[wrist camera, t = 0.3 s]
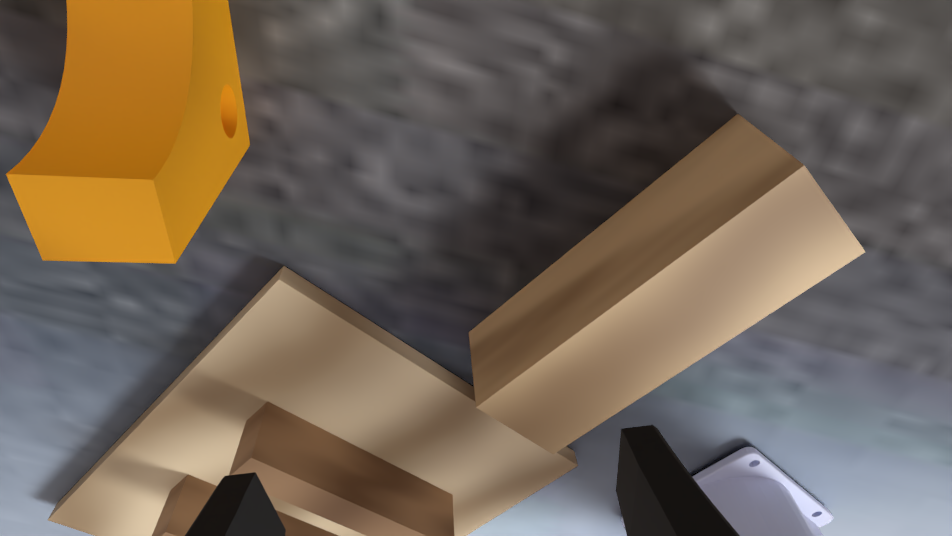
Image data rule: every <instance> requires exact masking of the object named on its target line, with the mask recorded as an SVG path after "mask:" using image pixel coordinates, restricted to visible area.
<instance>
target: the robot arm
mask: <svg viewBox="0 0 952 536" xmlns="http://www.w3.org/2000/svg"><path fill="white" fill-rule="evenodd" d="M616 492H617V496H618V500H619V504H620V509H621V513H622V518H621V522H622V525H623V527H624V528H625V529H626V533H627V536H823V534H822V533H821V531H820V529H819V527H822V526H824V525H826V524H828V523H830V522H831V521H832V520H833V515H832V514H831V512H830V511H829V510H828V509H827V508H826V507H825V506H823V505H822V504H821V503H820V502H819V501H817V500H816V499H815V498H814V497H813V496H811V495H810V494H809V493H808V492H807V491H805V490H804V489H803V488H802V487H801V486H799V485H798V484H797V483H796V482H795V481H793V480H792V479H791V478H790V477H789V476H787V475H786V474H785V473H784V472H783V471H782V470H780V469H779V468H778V467H777V466H776V465H774V464H773V463H772V462H771V461H770V460H768V459H767V458H766V457H765V456H764V455H762V454H761V453H760V452H759V451H758V450H756V449H755V448H753V447H744V448H742V449H740V450H738V451H737V452H735V453H733V454H731V455H729V456H728V457H726V458H724V459H722V460H720V461H719V462H717V463H715V464H713V465H712V466H710V467H708V468H706V469H704V470H703V471H701V472H699V473H697V474H696V475H694V476H691V475H690V474H689V472H688V471H687V470H686V468H685V467H684V466H683V464H682V463H681V462H680V460H679V459H678V458H677V456H676V455H675V453H674V452H673V451H672V449H671V448H670V446H669V445H668V444H667V442H666V441H665V439H664V438H663V436H662V435H661V433H660V432H659V430H658V429H657V428H656V427H654V426H653V425H649V426H641V427H632V428H624V429H621V439H620V451H619V463H618V474H617V486H616ZM285 532H286V529H285V527H284V525H283V523H282V522H281V520H280V518H279V516H278V514H277V512H276V510H275V508H274V506H273V504H272V502H271V501H270V499H269V497H268V495H267V493H266V491H265V489H264V487H263V485H262V483H261V481H260V479H259V478H258V476H257V474H256V472H253V473H245V474H236V475H228V476H224V477H223V478H222V480H221V481H220V482H219V484H218V486H217V487H216V489H215V490H214V492H213V493H212V495H211V496H210V498H209V499H208V501H207V502H206V504H205V505H204V507H203V509H202V510H201V512H200V513H199V515H198V516H197V518H196V519H195V521H194V522H193V524H192V525H191V527H190V528H189V530H188V531H187V533H186V534H185V536H285Z"/></svg>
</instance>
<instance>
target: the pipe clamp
mask: <svg viewBox="0 0 952 536" xmlns="http://www.w3.org/2000/svg"><path fill="white" fill-rule="evenodd" d="M66 2H67V48H66V58H65V66H64V72H63V77H62V82H61V87H60V90H59V94H58V97H57V101H56V104H55V107H54V109H53V112H52V114H51V116H50V119H49V121H48V123H47V125H46V127H45V129H44V131H43V132H42V134H41V136H40V138H39V139H38V140H37V142H36V143H35V145H34V146H33V148H32V149H31V150H30V152H29V153H28V154H27V155H26V156H25V157H24V158H23V159H22V160H21V161H20V163H18V164H17V165H16V166H15V167H14V168H12V169H11V170H10V171H9V172H8V173H7V174H6V175H7V178H8V180H9V182H10V185H11V187H12V189H13V192H14V194H15V196H16V199H17V201H18V203H19V206H20V208H21V210H22V213H23V215H24V218H25V220H26V222H27V225H28V227H29V229H30V232H31V234H32V236H33V239H34V241H35V243H36V246H37V248H38V250H39V253H40V255H41V257H42V260H48V261H90V262H132V263H174V264H176V262H177V260H178V259H179V257H180V256H181V254H182V252H183V251H184V249H185V248H186V246H187V244H188V243H189V241H190V240H191V238H192V237H193V235H194V233H195V232H196V230H197V229H198V227H199V225H200V224H201V222H202V221H203V219H204V217H205V216H206V214H207V213H208V211H209V210H210V208H211V206H212V205H213V203H214V202H215V200H216V198H217V197H218V195H219V194H220V192H221V190H222V189H223V187H224V186H225V184H226V182H227V181H228V179H229V178H230V176H231V175H232V173H233V171H234V170H235V168H236V167H237V165H238V163H239V162H240V160H241V159H242V157H243V155H244V154H245V152H246V151H247V149H248V148H249V146H250V141H249V135H248V128H247V122H246V115H245V109H244V102H243V96H242V89H241V83H240V76H239V70H238V63H237V56H236V50H235V43H234V37H233V30H232V24H231V17H230V11H229V4H228V0H66Z"/></svg>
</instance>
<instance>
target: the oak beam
mask: <svg viewBox="0 0 952 536" xmlns="http://www.w3.org/2000/svg"><path fill="white" fill-rule="evenodd" d="M863 253H865V251H864V249H863V248H862V246H861V245H860V244H859V242H858V241H857V239H856V238H855V236H854V235H853V234H852V232H851V231H850V229H849V228H848V227H847V225H846V224H845V222H844V221H843V219H842V218H841V217H840V215H839V214H838V212H837V211H836V210H835V208H834V207H833V205H832V204H831V202H830V201H829V200H828V198H827V197H826V195H825V194H824V193H823V191H822V190H821V188H820V187H819V185H818V184H817V183H816V181H815V180H814V178H813V177H812V176H811V174H810V173H809V171H808V170H807V168H806V167H805V166H804V165H803V164H802V163H801V162H799V161H798V160H797V159H796V158H794V157H793V156H792V155H790V154H789V153H788V152H787V151H785V150H784V149H783V148H781V147H780V146H779V145H778V144H776V143H775V142H774V141H772V140H771V139H770V138H769V137H767V136H766V135H765V134H763V133H762V132H761V131H760V130H758V129H757V128H756V127H754V126H753V125H752V124H751V123H749V122H748V121H747V120H745V119H744V118H743V117H742V116H740V115H739V114H737V115H736V116H734V117H733V118H732V119H731V120H730V121H728V122H727V123H726V124H725V125H723V126H722V127H721V128H720V129H718V130H717V131H716V132H715V133H714V134H712V135H711V136H710V137H709V138H707V139H706V140H705V141H704V142H702V143H701V144H700V145H699V146H698V147H696V148H695V149H694V150H693V151H691V152H690V153H689V154H688V155H686V156H685V157H684V158H683V159H682V160H680V161H679V162H678V163H677V164H675V165H674V166H673V167H672V168H670V169H669V170H668V171H667V172H665V173H664V174H663V175H662V176H661V177H659V178H658V179H657V180H656V181H654V182H653V183H652V184H651V185H649V186H648V187H647V188H646V189H645V190H643V191H642V192H641V193H640V194H638V195H637V196H636V197H635V198H633V199H632V200H631V201H630V202H629V203H627V204H626V205H625V206H624V207H622V208H621V209H620V210H619V211H617V212H616V213H615V214H614V215H613V216H611V217H610V218H609V219H608V220H606V221H605V222H604V223H603V224H601V225H600V226H599V227H598V228H597V229H595V230H594V231H593V232H592V233H590V234H589V235H588V236H587V237H585V238H584V239H583V240H582V241H581V242H579V243H578V244H577V245H576V246H574V247H573V248H572V249H571V250H569V251H568V252H567V253H566V254H565V255H563V256H562V257H561V258H560V259H558V260H557V261H556V262H555V263H553V264H552V265H551V266H550V267H549V268H547V269H546V270H545V271H544V272H542V273H541V274H540V275H539V276H537V277H536V278H535V279H534V280H533V281H531V282H530V283H529V284H528V285H526V286H525V287H524V288H523V289H521V290H520V291H519V292H518V293H516V294H515V295H514V296H513V297H512V298H510V299H509V300H508V301H507V302H505V303H504V304H503V305H502V306H500V307H499V308H498V309H497V310H496V311H494V312H493V313H492V314H491V315H489V316H488V317H487V318H486V319H484V320H483V321H482V322H481V323H480V324H478V325H477V326H476V327H475V328H473V329H472V330H471V331H470V332H469V342H470V352H471V362H472V372H473V381H474V391H475V401H476V408H478V409H479V410H481V411H483V412H484V413H486V414H488V415H489V416H491V417H492V418H494V419H496V420H497V421H499V422H501V423H502V424H504V425H506V426H507V427H509V428H510V429H512V430H514V431H515V432H517V433H519V434H520V435H522V436H524V437H525V438H527V439H528V440H530V441H532V442H533V443H535V444H537V445H538V446H540V447H541V448H543V449H545V450H546V451H548V452H550V453H551V454H555V453H556V452H558V451H559V450H561V449H562V448H564V447H565V446H567V445H569V444H570V443H572V442H573V441H575V440H576V439H578V438H579V437H581V436H582V435H584V434H586V433H587V432H589V431H590V430H592V429H593V428H595V427H596V426H598V425H599V424H601V423H602V422H604V421H606V420H607V419H609V418H610V417H612V416H613V415H615V414H616V413H618V412H619V411H621V410H623V409H624V408H626V407H627V406H629V405H630V404H632V403H633V402H635V401H636V400H638V399H639V398H641V397H643V396H644V395H646V394H647V393H649V392H650V391H652V390H653V389H655V388H656V387H658V386H660V385H661V384H663V383H664V382H666V381H667V380H669V379H670V378H672V377H673V376H675V375H676V374H678V373H680V372H681V371H683V370H684V369H686V368H687V367H689V366H690V365H692V364H693V363H695V362H697V361H698V360H700V359H701V358H703V357H704V356H706V355H707V354H709V353H710V352H712V351H713V350H715V349H717V348H718V347H720V346H721V345H723V344H724V343H726V342H727V341H729V340H730V339H732V338H733V337H735V336H737V335H738V334H740V333H741V332H743V331H744V330H746V329H747V328H749V327H750V326H752V325H754V324H755V323H757V322H758V321H760V320H761V319H763V318H764V317H766V316H767V315H769V314H770V313H772V312H774V311H775V310H777V309H778V308H780V307H781V306H783V305H784V304H786V303H787V302H789V301H791V300H792V299H794V298H795V297H797V296H798V295H800V294H801V293H803V292H804V291H806V290H807V289H809V288H811V287H812V286H814V285H815V284H817V283H818V282H820V281H821V280H823V279H824V278H826V277H828V276H829V275H831V274H832V273H834V272H835V271H837V270H838V269H840V268H841V267H843V266H844V265H846V264H848V263H849V262H851V261H852V260H854V259H855V258H857V257H858V256H860V255H861V254H863Z"/></svg>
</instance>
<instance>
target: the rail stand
mask: <svg viewBox="0 0 952 536" xmlns="http://www.w3.org/2000/svg"><path fill="white" fill-rule="evenodd" d="M577 466H578V464H577V460H576V456H575V452H574V451H573V450H572V449H570V448H568V447H567V446H565V447H564V448H562V449H561V450H559V451H558V452H556V453H555V454H551V453H550V452H548V451H546V450H545V449H543V448H541V447H540V446H538V445H537V444H535V443H533V442H532V441H530V440H528V439H527V438H525V437H524V436H522V435H520V434H519V433H517V432H515V431H514V430H512V429H510V428H509V427H507V426H506V425H504V424H502V423H501V422H499V421H497V420H496V419H494V418H492V417H491V416H489V415H488V414H486V413H484V412H483V411H481V410H479V409H478V408H476V401H475V391H474V387H473V386H471V385H470V384H468V383H467V382H465V381H464V380H462V379H460V378H459V377H457V376H456V375H454V374H453V373H451V372H449V371H448V370H446V369H445V368H443V367H442V366H440V365H438V364H437V363H435V362H434V361H432V360H431V359H429V358H428V357H426V356H424V355H423V354H421V353H420V352H418V351H417V350H415V349H413V348H412V347H410V346H409V345H407V344H406V343H404V342H402V341H401V340H399V339H398V338H396V337H395V336H393V335H392V334H390V333H388V332H387V331H385V330H384V329H382V328H381V327H379V326H377V325H376V324H374V323H373V322H371V321H370V320H368V319H366V318H365V317H363V316H362V315H360V314H359V313H357V312H356V311H354V310H352V309H351V308H349V307H348V306H346V305H345V304H343V303H341V302H340V301H338V300H337V299H335V298H334V297H332V296H330V295H329V294H327V293H326V292H324V291H323V290H321V289H320V288H318V287H316V286H315V285H313V284H312V283H310V282H309V281H307V280H305V279H304V278H302V277H301V276H299V275H298V274H296V273H294V272H293V271H291V270H290V269H288V268H287V267H285V266H283V267H282V268H281V269H280V270H279V271H278V272H277V274H276V275H275V276H274V277H273V278H272V279H271V280H270V281H269V282H268V283H267V284H266V285H265V286H264V287H263V288H262V289H261V290H260V291H259V292H258V293H257V294H256V296H255V297H254V298H253V299H252V300H251V301H250V302H249V303H248V304H247V305H246V306H245V307H244V308H243V309H242V310H241V311H240V312H239V313H238V314H237V315H236V317H235V318H234V319H233V320H232V321H231V322H230V323H229V324H228V325H227V326H226V327H225V328H224V329H223V330H222V331H221V332H220V333H219V334H218V335H217V336H216V338H215V339H214V340H213V341H212V342H211V343H210V344H209V345H208V346H207V347H206V348H205V349H204V350H203V351H202V352H201V353H200V354H199V355H198V356H197V357H196V359H195V360H194V361H193V362H192V363H191V364H190V365H189V366H188V367H187V368H186V369H185V370H184V371H183V372H182V373H181V374H180V375H179V376H178V377H177V378H176V379H175V381H174V382H173V383H172V384H171V385H170V386H169V387H168V388H167V389H166V390H165V391H164V392H163V393H162V394H161V395H160V396H159V397H158V398H157V399H156V400H155V402H154V403H153V404H152V405H151V406H150V407H149V408H148V409H147V410H146V411H145V412H144V413H143V414H142V415H141V416H140V417H139V418H138V419H137V420H136V421H135V423H134V424H133V425H132V426H131V427H130V428H129V429H128V430H127V431H126V432H125V433H124V434H123V435H122V436H121V437H120V438H119V439H118V440H117V441H116V442H115V444H114V445H113V446H112V447H111V448H110V449H109V450H108V451H107V452H106V453H105V454H104V455H103V456H102V457H101V458H100V459H99V460H98V461H97V462H96V463H95V464H94V466H93V467H92V468H91V469H90V470H89V471H88V472H87V473H86V474H85V475H84V476H83V477H82V478H81V479H80V480H79V481H78V482H77V483H76V484H75V485H74V487H73V488H72V489H71V490H70V491H69V492H68V493H67V494H66V495H65V496H64V497H63V498H62V499H61V500H60V501H59V502H58V503H57V505H56V506H55V508H54V510H53V512H52V513H51V515H50V517H49V519H48V520H49V521H52V522H55V523H58V524H61V525H64V526H67V527H70V528H73V529H76V530H79V531H82V532H85V533H88V534H91V535H95V536H185V534H186V533H187V531H188V530H189V528H190V527H191V525H192V524H193V522H194V521H195V519H196V518H197V516H198V515H199V513H200V512H201V510H202V509H203V507H204V505H205V504H206V502H207V501H208V499H209V498H210V496H211V495H212V493H213V492H214V490H215V489H216V487H217V486H218V484H219V482H220V481H221V480H222V478H223V477H224V476H228V475H236V474H245V473H253V472H256V474H257V476H258V478H259V479H260V481H261V483H262V485H263V487H264V489H265V491H266V493H267V495H268V497H269V499H270V501H271V502H272V504H273V506H274V508H275V510H276V512H277V514H278V516H279V518H280V520H281V522H282V523H283V525H284V527H285V529H286V532H285V536H466V535H468V534H469V533H471V532H473V531H474V530H476V529H477V528H479V527H481V526H482V525H484V524H485V523H487V522H489V521H490V520H492V519H493V518H495V517H497V516H498V515H500V514H501V513H503V512H505V511H506V510H508V509H510V508H511V507H513V506H514V505H516V504H518V503H519V502H521V501H522V500H524V499H526V498H527V497H529V496H530V495H532V494H534V493H535V492H537V491H538V490H540V489H542V488H543V487H545V486H546V485H548V484H550V483H551V482H553V481H554V480H556V479H558V478H559V477H561V476H562V475H564V474H566V473H567V472H569V471H570V470H572V469H574V468H575V467H577Z"/></svg>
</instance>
